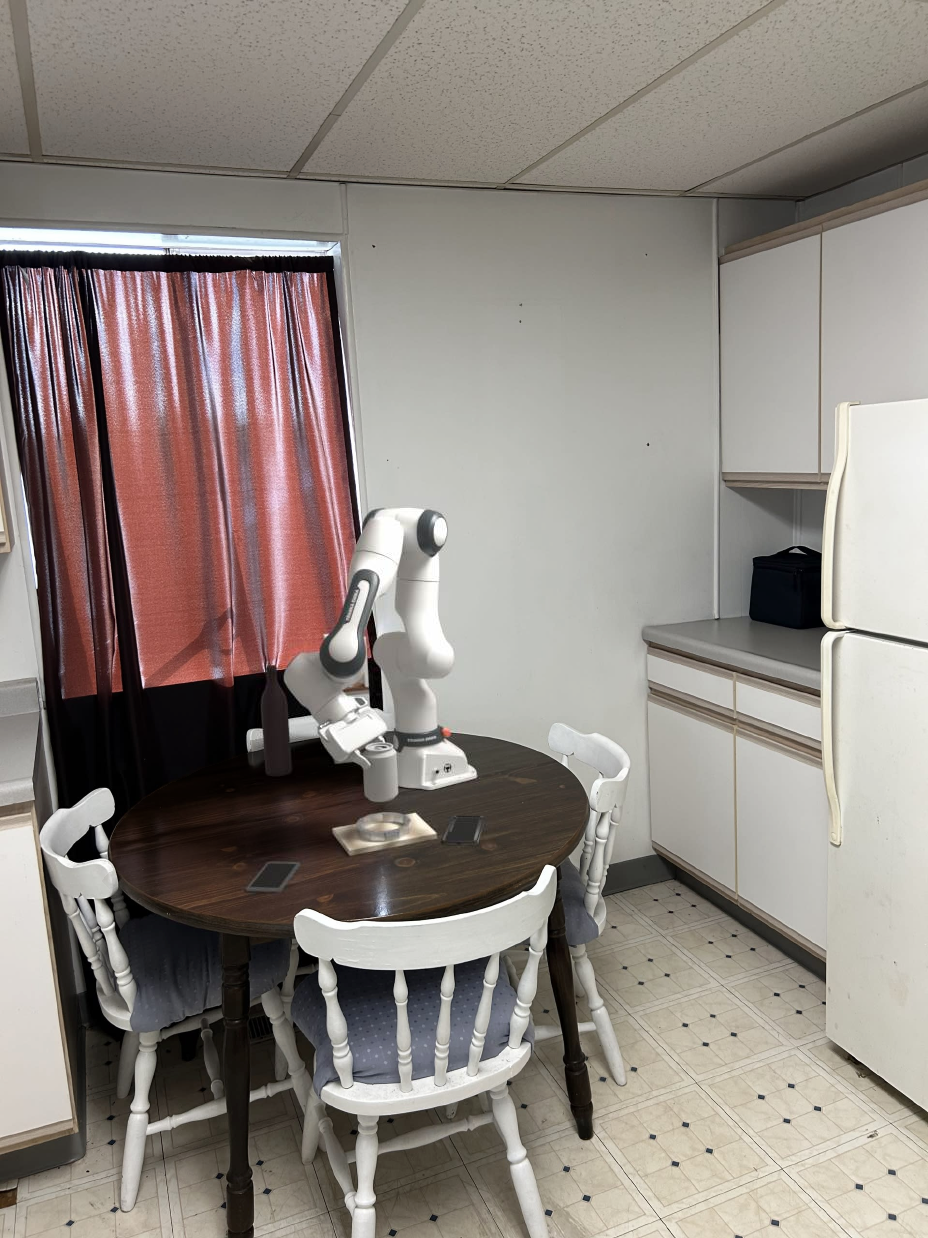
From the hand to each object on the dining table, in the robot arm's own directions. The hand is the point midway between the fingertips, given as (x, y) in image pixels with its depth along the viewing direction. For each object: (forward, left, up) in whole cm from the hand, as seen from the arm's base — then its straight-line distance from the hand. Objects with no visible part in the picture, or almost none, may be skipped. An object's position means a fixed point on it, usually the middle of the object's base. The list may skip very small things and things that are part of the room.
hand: (378, 761), depth 210 cm
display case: (-10, -61, -18) cm, 64 cm away
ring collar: (0, 0, -16) cm, 16 cm away
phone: (-17, +6, -18) cm, 26 cm away
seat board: (0, 0, -17) cm, 17 cm away
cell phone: (+27, +10, -18) cm, 34 cm away
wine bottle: (+12, -56, -18) cm, 60 cm away
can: (0, 0, -9) cm, 9 cm away
